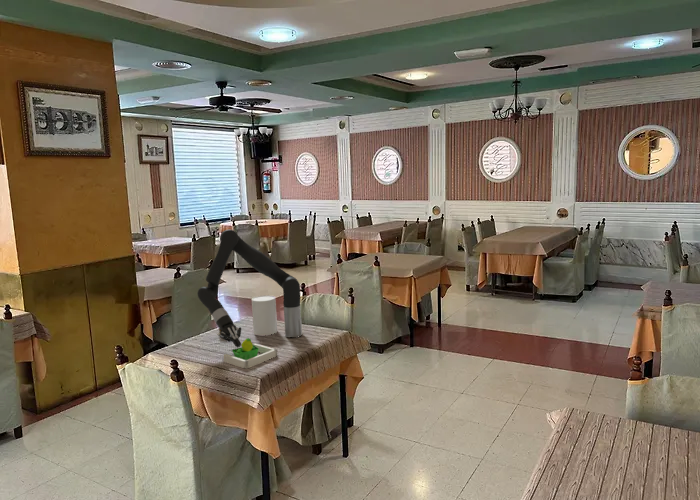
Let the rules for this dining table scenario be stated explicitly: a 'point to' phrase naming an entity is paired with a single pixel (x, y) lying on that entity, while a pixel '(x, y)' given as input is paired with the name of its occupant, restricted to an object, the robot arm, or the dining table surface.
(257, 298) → the canister
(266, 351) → the corral
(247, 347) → the fruit basket
